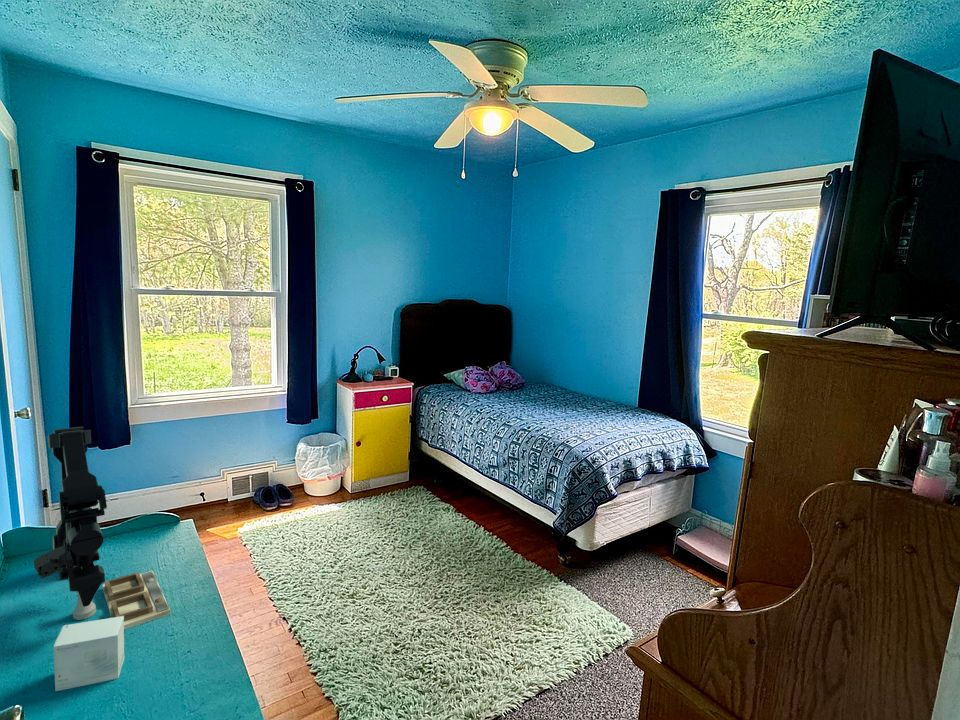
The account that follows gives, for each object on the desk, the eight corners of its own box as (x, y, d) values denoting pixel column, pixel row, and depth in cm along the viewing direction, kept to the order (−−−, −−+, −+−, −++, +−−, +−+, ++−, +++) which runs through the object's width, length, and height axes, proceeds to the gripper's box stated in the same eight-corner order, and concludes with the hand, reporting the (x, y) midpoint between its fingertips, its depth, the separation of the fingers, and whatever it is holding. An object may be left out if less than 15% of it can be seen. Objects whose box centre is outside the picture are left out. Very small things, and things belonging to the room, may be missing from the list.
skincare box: (54, 693, 98) (51, 646, 96) (64, 669, 103) (62, 624, 102) (118, 679, 102) (117, 634, 101) (125, 657, 108) (124, 614, 106)
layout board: (102, 588, 128) (102, 579, 128) (152, 574, 136) (152, 565, 136) (115, 632, 114) (115, 622, 114) (170, 614, 122) (170, 604, 122)
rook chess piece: (83, 622, 116) (82, 591, 115) (67, 618, 117) (66, 587, 116) (101, 610, 121) (100, 580, 120) (86, 606, 122) (85, 577, 120)
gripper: (33, 527, 117) (36, 587, 119) (38, 565, 104) (41, 632, 106) (93, 515, 125) (94, 572, 127) (104, 549, 111) (106, 611, 114)
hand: (84, 595), depth 118 cm, fingers open, 9 cm apart
